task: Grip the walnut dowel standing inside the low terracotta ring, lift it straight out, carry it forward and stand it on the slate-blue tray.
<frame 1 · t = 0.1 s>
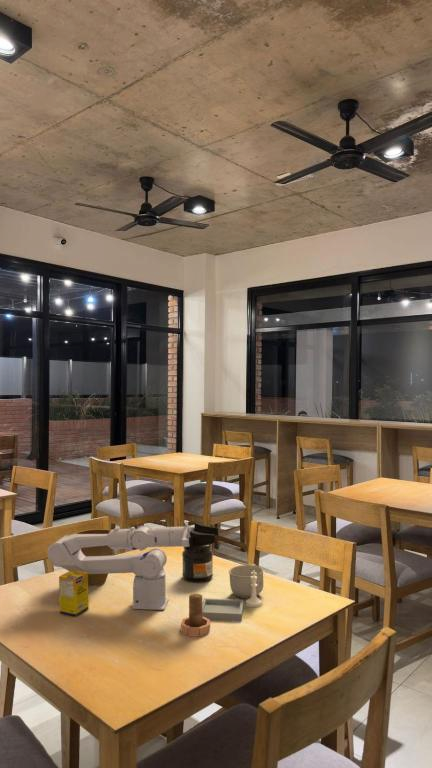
hand: (216, 535, 161), 22 cm above the table, tool horizontal, fingers open, 7 cm apart
chess piece: (253, 604, 164), on the table
tray: (222, 611, 158), on the table
plant pot: (93, 583, 182), on the table
supplement box: (74, 612, 158), on the table, touching arm
teacup: (248, 594, 172), on the table
supplement container: (197, 578, 186), on the table
ring holder: (195, 629, 147), on the table
dowel: (195, 613, 147), in the ring holder
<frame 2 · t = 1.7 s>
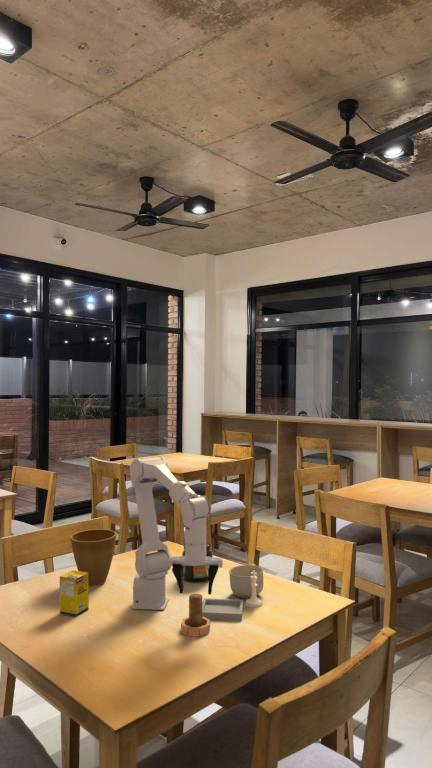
hand: (195, 592, 147), 10 cm above the table, tool pointing down, fingers open, 7 cm apart
supplement box: (74, 612, 158), on the table
everything else where it was.
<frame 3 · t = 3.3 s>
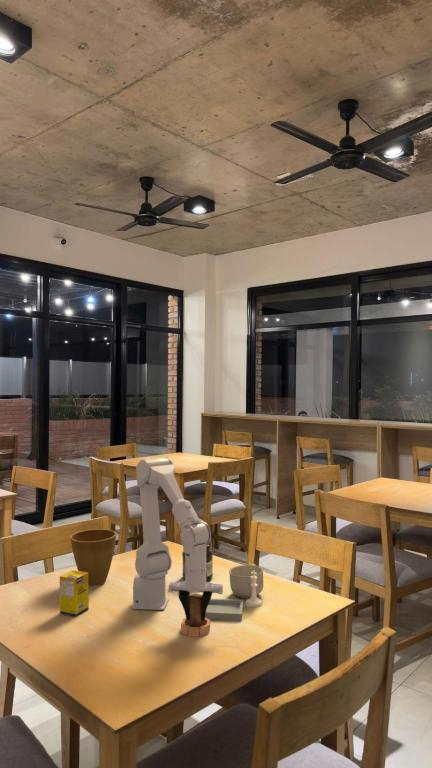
hand: (195, 618, 147), 3 cm above the table, tool pointing down, fingers closed on dowel, 4 cm apart
dowel: (195, 612, 147), in the ring holder, touching gripper
everything else where it was.
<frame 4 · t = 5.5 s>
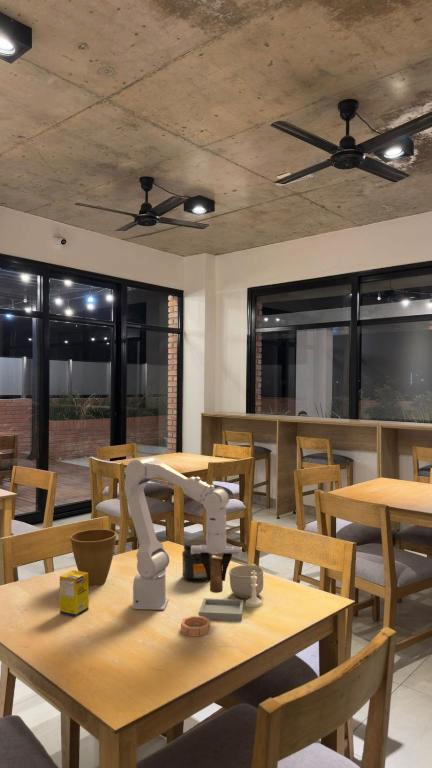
hand: (216, 579, 155), 10 cm above the table, tool pointing down, fingers closed on dowel, 4 cm apart
dowel: (216, 574, 155), point 12 cm above the table, touching gripper
everything else where it was.
when the fingers open (4 cm above the table, at t = 7.7 s): dowel stays where it is, resting on tray.
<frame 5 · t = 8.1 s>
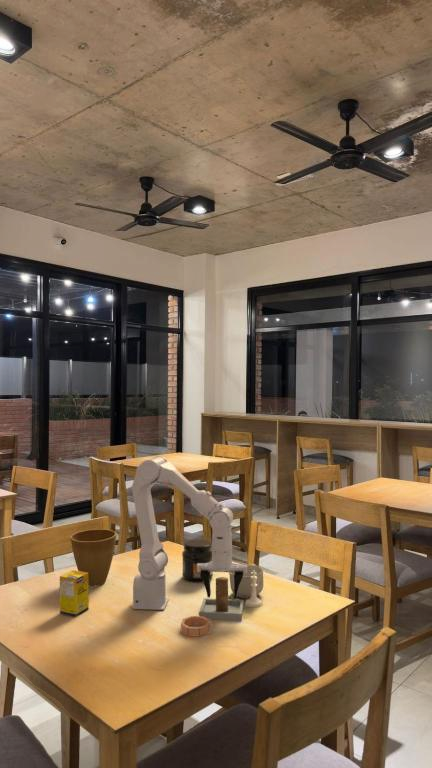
hand: (222, 596, 158), 4 cm above the table, tool pointing down, fingers open, 7 cm apart
dowel: (221, 594, 158), in the tray, point 5 cm above the table
everything else where it was.
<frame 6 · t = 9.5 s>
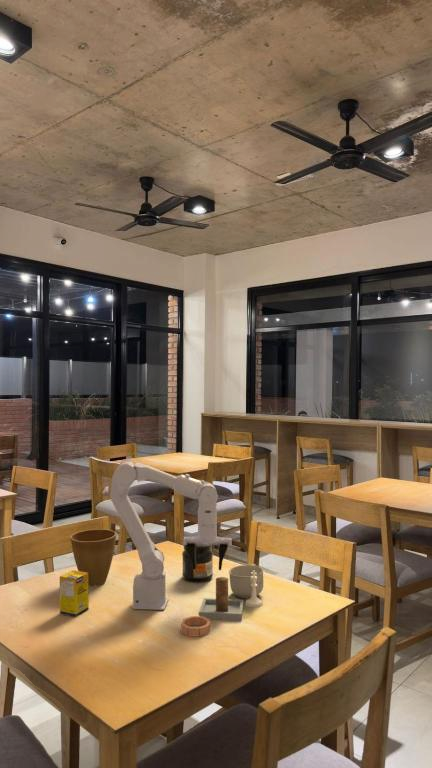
hand: (207, 568, 164), 10 cm above the table, tool pointing down, fingers open, 7 cm apart
nothing on the table moved.
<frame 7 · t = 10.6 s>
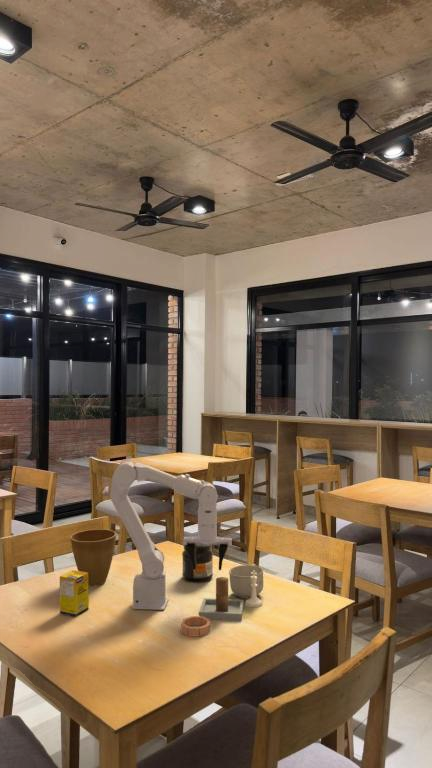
hand: (207, 568, 164), 10 cm above the table, tool pointing down, fingers open, 7 cm apart
nothing on the table moved.
at the end: dowel inside the target area on the tray (0.2 cm from its centre), point 5.1 cm above the tray's base; dowel tilted 0°; the gripper is holding nothing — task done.
